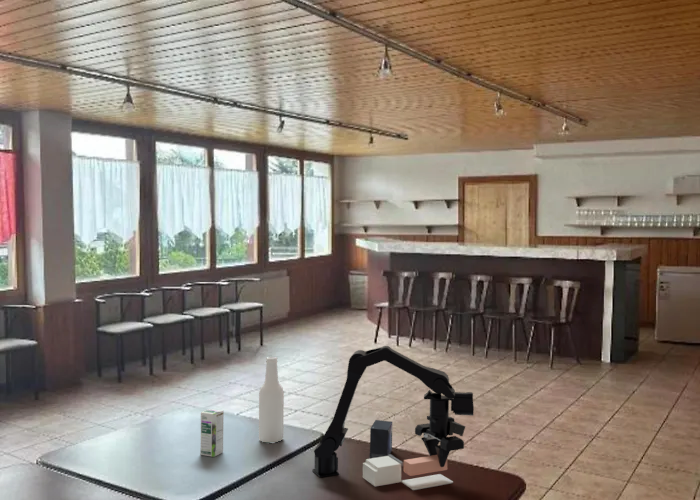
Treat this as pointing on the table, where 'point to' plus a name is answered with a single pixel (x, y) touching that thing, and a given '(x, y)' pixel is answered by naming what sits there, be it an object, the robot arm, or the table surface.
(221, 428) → the syrup box
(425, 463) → the salmon pink block
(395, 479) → the block
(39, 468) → the table surface
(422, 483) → the mat
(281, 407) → the alcohol
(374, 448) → the small box
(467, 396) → the robot arm
